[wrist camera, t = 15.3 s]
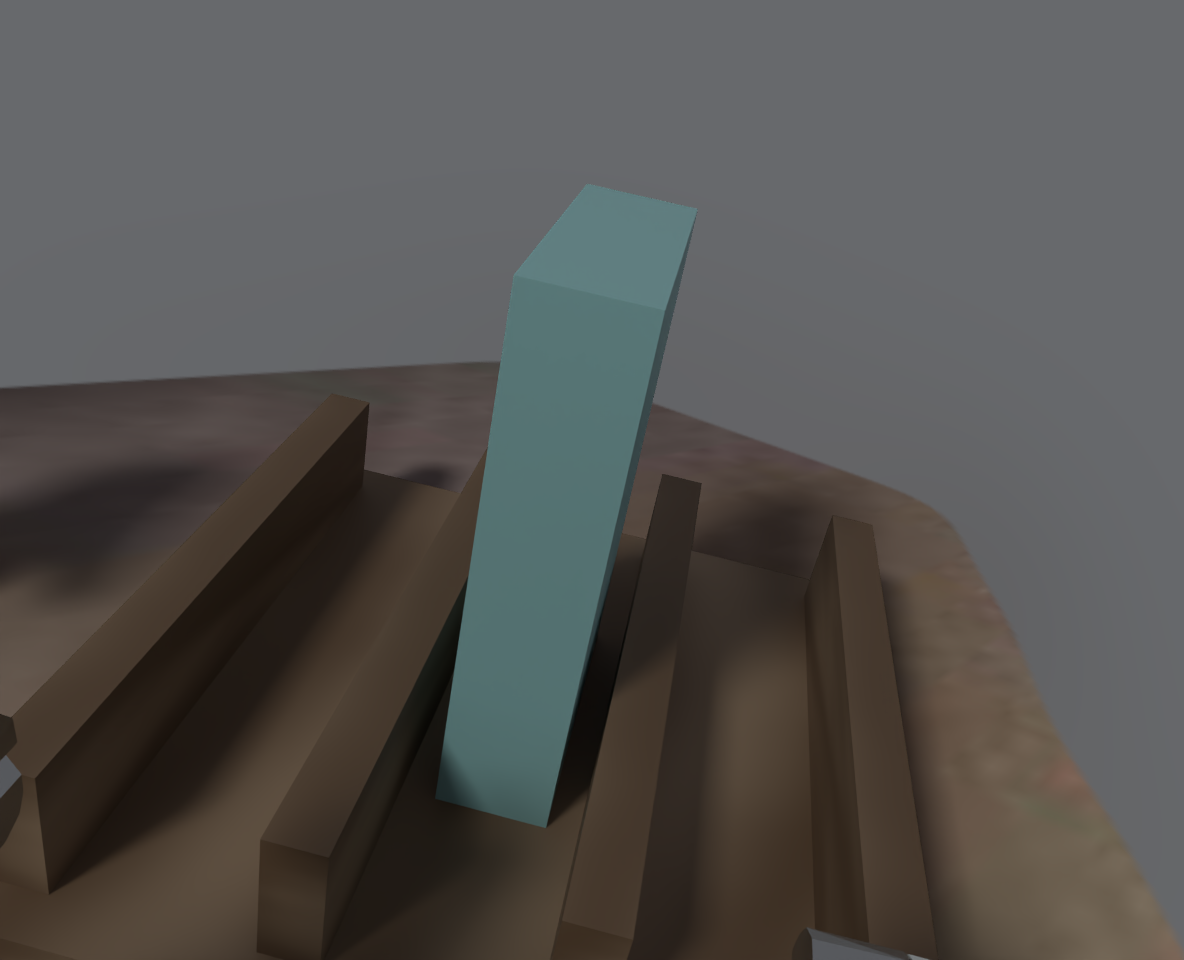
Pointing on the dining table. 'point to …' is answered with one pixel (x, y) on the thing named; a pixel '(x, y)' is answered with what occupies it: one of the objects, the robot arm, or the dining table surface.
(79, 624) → the dining table surface
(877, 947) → the robot arm
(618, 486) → the light teal rectangular block
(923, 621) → the dining table surface
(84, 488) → the dining table surface
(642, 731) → the walnut rack
